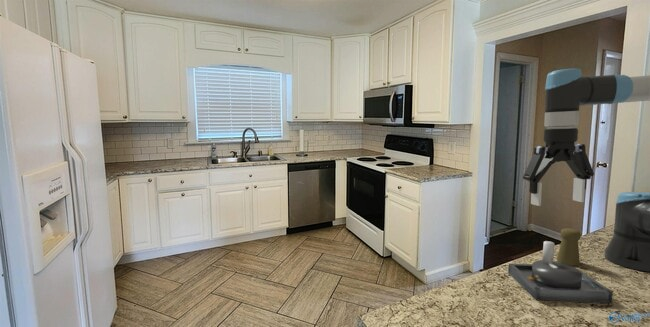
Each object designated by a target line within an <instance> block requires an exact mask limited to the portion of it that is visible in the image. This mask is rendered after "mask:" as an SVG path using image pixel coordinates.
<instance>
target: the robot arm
mask: <svg viewBox="0 0 650 327" xmlns="http://www.w3.org/2000/svg"><path fill="white" fill-rule="evenodd" d="M544 90H545V92H544V93H545V98H544V99H545V100H544V101H545V102H544V121H543V122H544V124H543V125H544V127H545V129H544V130H543V142H544V143H545V146H543V145H536V146H534V149H533V150H534V151H533V154H532V156H531V159H530V161H529V163H528V165H527V167H526V170H525V171H524V173H523V176H522V179H523V180H525V181H528V182H529V194H530V205H533V206H538V207H541V206H542V192H543V191H542V189H543V188H542V184H543V182H541V179H542V178H543V177H544V176H545V175H546V173H547V172H548V170H549V169H550V168H551V167H552V165H554V164H555V163H556V162H557V163H559V162H564V163H566V164H567V166H568V168H570V170H571V171H572V172H573V174H574V175H575V176H576V177H573V185H572V186H573V187H572V201H575V202H579V203H584V202H585V191H586V189H587V180H591V179H592V177H593V176H594V175H595V173H594V170H593V166H592V165H591V163H590V159H589V158H588V155H587V153H586V144H583V143H576V142H577V141H578V140H579V129H578V128H577V127H578V126H579V124H580V123H579V121H580V107H583V106H594V105H595V106H597V105H607V104H608V105H614V104H622V103H636V102H650V74H649V75H639V76H629V75H625V74H614V73H613V74H608V75H607V74H605V75H593V76H592V75H591V76H590V75H589V76H583V74H582V70H581V69H580V68H565V69H563V68H562V69H557V70H553V71H550V72H548V74H547V75H546V81H545V87H544ZM613 228H614V229H613V235H612V237H611V239H610V240H609V243H608V244H607V246H606V247H605V248H604V258H606V259H607V260H608V261H610V262H612V263H614V264H616V265H619V266H622V267H625V268H629V269H633V270H638V271H640V272H641V271H642V272H649V273H650V192H649V191H648V192H646V191H645V192H644V191H623V192H620V193H619V194H618V195H617V198H616V202H615V213H614V227H613Z"/></svg>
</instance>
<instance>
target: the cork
mask: <svg viewBox="0 0 650 327" xmlns="http://www.w3.org/2000/svg"><path fill="white" fill-rule="evenodd" d="M559 235H560V237H561V242H560V245H559V250H558V253H557V257H556V260H557V261H556V262H560V263H563V264H567V265H572V266H574V267H577V266H580V265H581V261H580V250H579V241H580V239H581V236H582V235H581V232H580V231H579V230H577V229H576V228H575V229H574V228H569V227H568V228H566V227H565V228H562V229H561V231H560V234H559Z"/></svg>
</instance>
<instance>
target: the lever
mask: <svg viewBox="0 0 650 327" xmlns="http://www.w3.org/2000/svg"><path fill="white" fill-rule="evenodd" d="M542 246H543V247H542V258H541V259H542V260H535V261H533V263H532V264H533V266H532V276H533V277H534V278H535V279H536V280H537V281H539V282H541V283H543V284H546V285H549V286H552V287H556V288H571V289H578V288H580V287H581V281H582V273H581V272H580V271H581V270H580V269H579V268H577V267H575V266H574V267H575V268H574V267H572V266H570V265H567V264H563V263H560V262H558V261H554V258H555V247H556V246H555V242H553V241H548V240H545V241H543V245H542ZM576 268H577V269H576ZM578 269H579V270H580V271H579V270H578Z"/></svg>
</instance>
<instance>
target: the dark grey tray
mask: <svg viewBox="0 0 650 327" xmlns="http://www.w3.org/2000/svg"><path fill="white" fill-rule="evenodd" d="M532 266H533V263H531V264H530V263H508V268H507V271H508V273H507V274H509V275H510V276H511V277H512V278H513V279H514V280H515V281H516V282H517V283H518V284H519V285H520V286H521V287H522V288H523V289H524V290H525V291H526V292H527V293H528V294H529V295H530V296H531V297H532V298H533V299H534V300H535V301H547V302H548V301H551V302H552V301H553V302H572V303H573V302H575V303H576V302H577V303H578V302H579V303H598V304H601V303H602V304H612V303H613V295H614V294H613V291H612V290H611V289H610V288H608V287H606V286H605V285H604V284H601V283H600V282H598V281H597V280H595V279H594V278H593V277H591V276H589V275H588V274H586V273H585V272H583V271H581V270H580V269H579V268H577V267H576V266H572V265H570V266H572V267H574V268H576V269H578V270H579V271H580V272H581V273H582V281H581V287H580V288H578V289H571V288H556V287H552V286H549V285H546V284H543V283H541V282H539V281H537V280H536V279H535V278H534V277H533V276H532Z"/></svg>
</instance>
